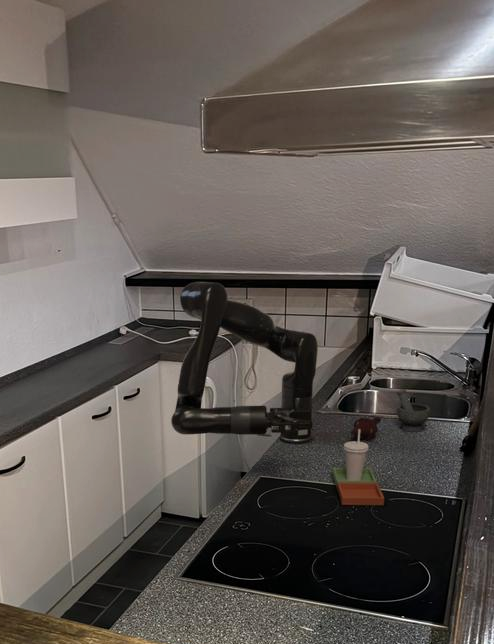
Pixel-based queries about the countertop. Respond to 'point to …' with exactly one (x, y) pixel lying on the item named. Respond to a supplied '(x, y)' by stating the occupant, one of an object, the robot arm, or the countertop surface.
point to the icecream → (366, 427)
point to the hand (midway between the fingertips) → (310, 419)
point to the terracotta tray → (360, 494)
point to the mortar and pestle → (411, 413)
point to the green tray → (341, 477)
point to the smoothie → (355, 458)
